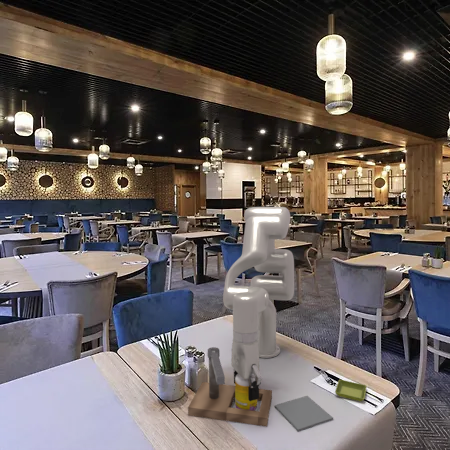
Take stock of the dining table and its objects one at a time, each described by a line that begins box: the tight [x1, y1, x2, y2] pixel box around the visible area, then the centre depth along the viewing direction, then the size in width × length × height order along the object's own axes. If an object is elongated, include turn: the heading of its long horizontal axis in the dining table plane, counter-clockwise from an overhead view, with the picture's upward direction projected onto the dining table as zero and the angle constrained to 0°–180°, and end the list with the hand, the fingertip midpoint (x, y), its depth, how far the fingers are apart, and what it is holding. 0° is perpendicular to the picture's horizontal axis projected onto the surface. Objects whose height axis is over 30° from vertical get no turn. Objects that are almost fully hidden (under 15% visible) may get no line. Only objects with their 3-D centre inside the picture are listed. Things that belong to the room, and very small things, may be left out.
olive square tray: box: [334, 379, 367, 403], centre depth 110 cm, size 9×9×2 cm
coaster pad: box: [274, 395, 334, 432], centre depth 101 cm, size 12×12×1 cm
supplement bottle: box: [234, 373, 258, 411], centre depth 103 cm, size 7×7×13 cm
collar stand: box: [187, 358, 273, 427], centre depth 104 cm, size 23×14×15 cm, turn 76°
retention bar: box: [207, 346, 226, 385], centre depth 97 cm, size 18×4×2 cm, turn 9°
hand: (246, 390), depth 103 cm, fingers open, 9 cm apart
